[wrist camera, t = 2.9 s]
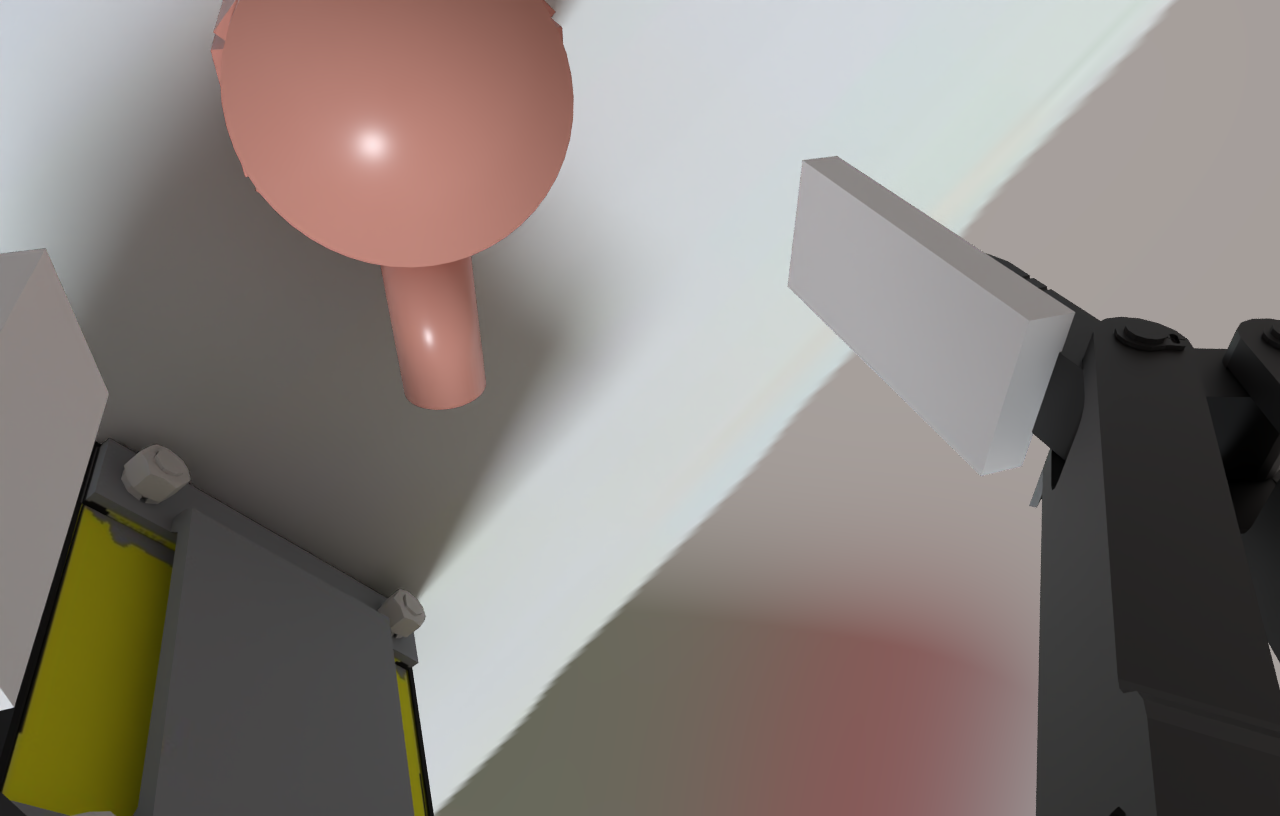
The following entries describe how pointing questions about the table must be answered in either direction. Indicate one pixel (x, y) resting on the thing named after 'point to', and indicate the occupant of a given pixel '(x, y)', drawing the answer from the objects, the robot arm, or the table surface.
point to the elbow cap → (402, 147)
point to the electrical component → (208, 667)
